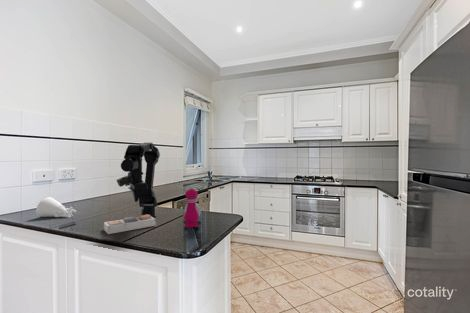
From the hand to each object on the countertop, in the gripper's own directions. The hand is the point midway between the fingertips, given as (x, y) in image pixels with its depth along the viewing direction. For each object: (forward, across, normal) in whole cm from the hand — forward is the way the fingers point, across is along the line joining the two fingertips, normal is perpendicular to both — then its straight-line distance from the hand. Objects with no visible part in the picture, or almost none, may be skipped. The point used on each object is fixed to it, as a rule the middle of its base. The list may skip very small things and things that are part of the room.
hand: (136, 201), depth 118 cm
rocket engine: (+13, -47, -32) cm, 58 cm away
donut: (+13, +6, +27) cm, 31 cm away
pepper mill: (+12, +17, +22) cm, 30 cm away
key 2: (+10, 0, +4) cm, 10 cm away
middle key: (+10, 0, -3) cm, 10 cm away
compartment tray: (+12, 0, -3) cm, 12 cm away
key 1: (+11, +1, -10) cm, 14 cm away
